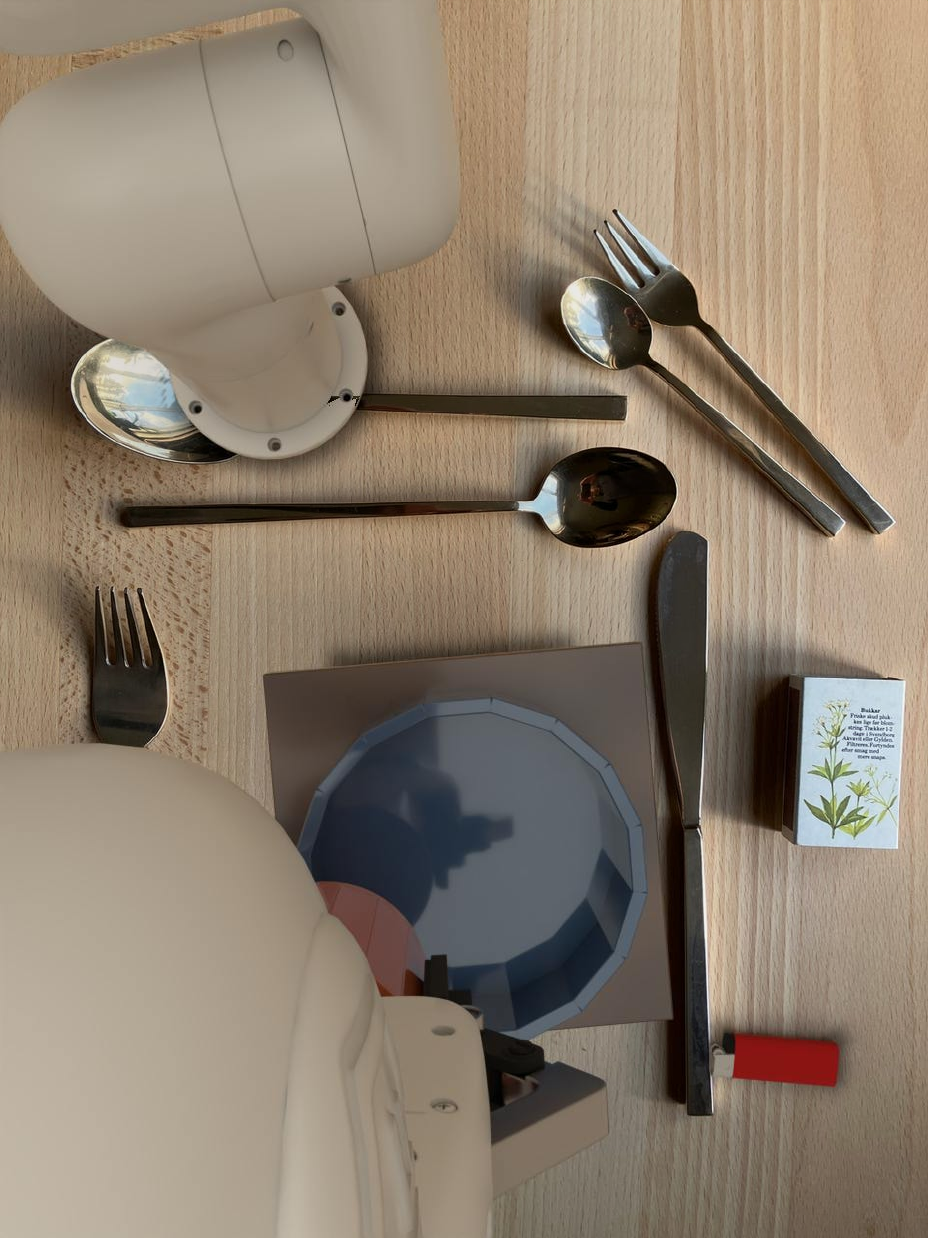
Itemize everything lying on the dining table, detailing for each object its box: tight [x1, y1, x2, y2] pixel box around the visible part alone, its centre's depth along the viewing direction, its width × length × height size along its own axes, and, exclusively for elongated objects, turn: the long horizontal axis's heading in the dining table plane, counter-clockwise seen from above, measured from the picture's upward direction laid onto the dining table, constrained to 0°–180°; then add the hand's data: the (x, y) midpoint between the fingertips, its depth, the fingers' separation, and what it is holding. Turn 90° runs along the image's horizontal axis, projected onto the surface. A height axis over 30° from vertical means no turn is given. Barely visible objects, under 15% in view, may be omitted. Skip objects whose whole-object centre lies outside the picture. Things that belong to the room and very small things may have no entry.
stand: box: [262, 641, 674, 1032], centre depth 56 cm, size 16×16×24 cm
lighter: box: [708, 1032, 840, 1088], centre depth 68 cm, size 3×1×8 cm
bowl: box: [297, 689, 648, 1041], centre depth 42 cm, size 13×13×4 cm
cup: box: [315, 882, 426, 997], centre depth 33 cm, size 7×7×8 cm
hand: (318, 1010), depth 34 cm, fingers closed on cup, 7 cm apart
